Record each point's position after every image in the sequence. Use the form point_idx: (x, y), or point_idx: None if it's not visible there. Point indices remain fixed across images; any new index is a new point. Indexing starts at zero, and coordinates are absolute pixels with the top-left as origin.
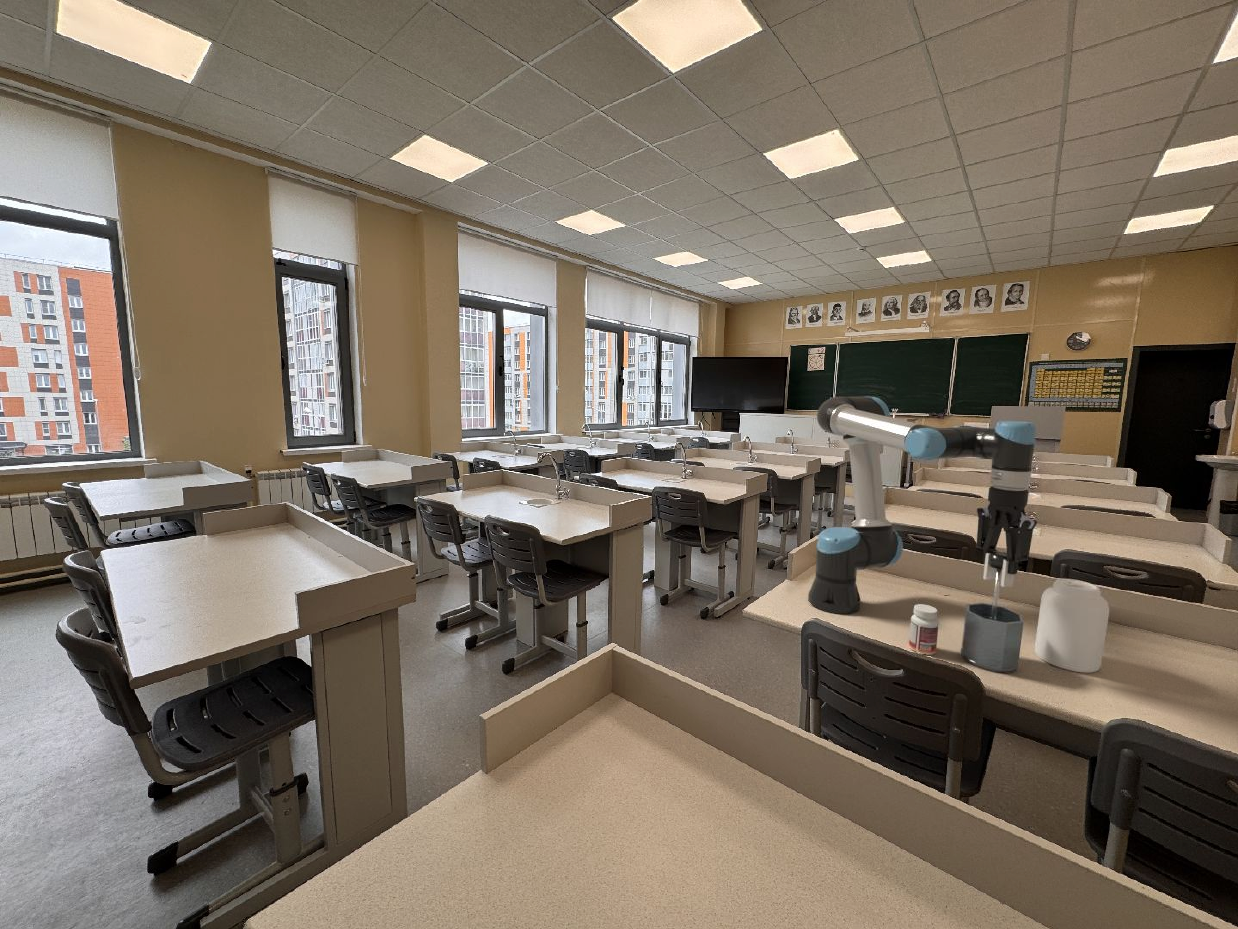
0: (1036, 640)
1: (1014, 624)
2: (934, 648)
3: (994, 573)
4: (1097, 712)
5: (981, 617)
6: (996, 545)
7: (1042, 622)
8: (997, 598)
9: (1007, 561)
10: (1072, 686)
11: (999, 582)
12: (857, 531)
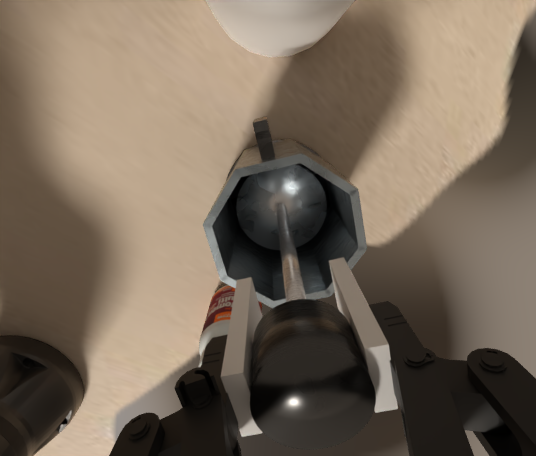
0: (240, 41)
1: (361, 222)
2: (258, 301)
3: (250, 297)
4: (486, 107)
5: (319, 295)
6: (225, 434)
7: (263, 38)
8: (297, 258)
9: (393, 395)
10: (393, 77)
11: (304, 291)
12: None
